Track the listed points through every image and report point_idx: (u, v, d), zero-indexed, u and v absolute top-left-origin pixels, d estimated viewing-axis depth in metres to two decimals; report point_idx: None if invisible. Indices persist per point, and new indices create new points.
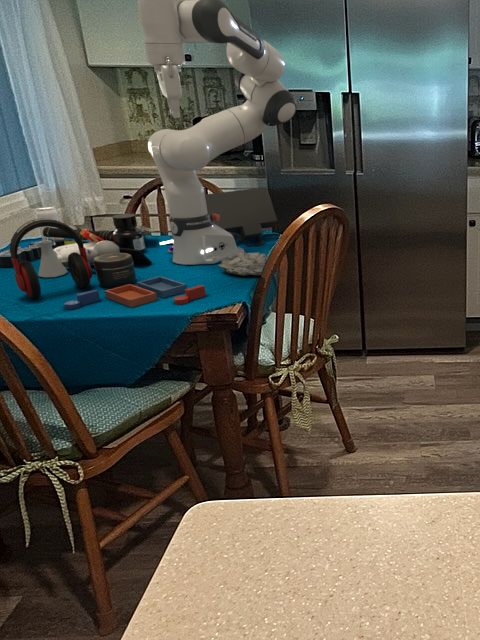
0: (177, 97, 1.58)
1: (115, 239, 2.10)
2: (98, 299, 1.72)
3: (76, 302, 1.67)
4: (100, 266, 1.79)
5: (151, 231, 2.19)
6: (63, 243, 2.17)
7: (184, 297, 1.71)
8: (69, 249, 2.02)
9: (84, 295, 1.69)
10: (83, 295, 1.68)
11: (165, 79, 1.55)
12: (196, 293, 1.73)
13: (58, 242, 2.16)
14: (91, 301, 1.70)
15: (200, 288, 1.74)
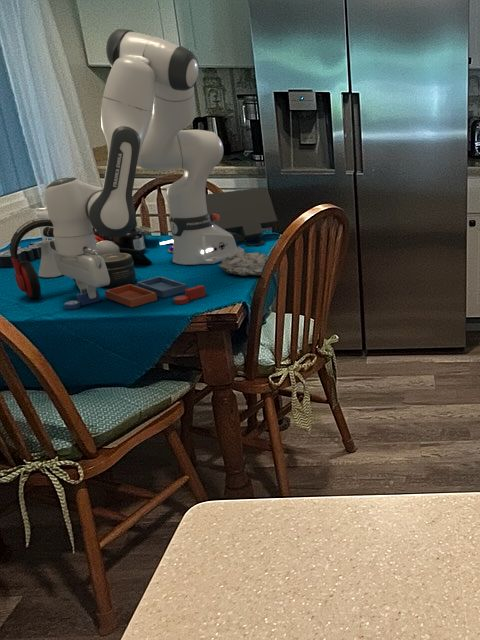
0: (106, 284, 1.64)
1: (115, 239, 2.10)
2: (98, 299, 1.72)
3: (76, 302, 1.67)
4: None
5: (151, 231, 2.19)
6: None
7: (184, 297, 1.71)
8: None
9: (84, 295, 1.69)
10: (83, 295, 1.68)
11: (94, 271, 1.60)
12: (196, 293, 1.73)
13: None
14: (91, 301, 1.70)
15: (200, 288, 1.74)
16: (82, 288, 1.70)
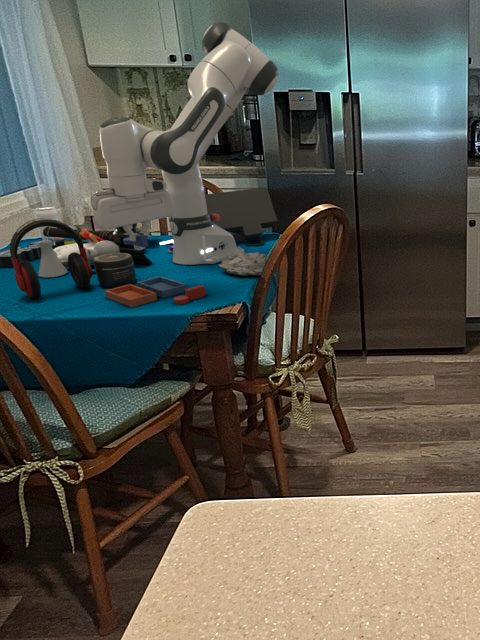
0: (102, 228, 1.62)
1: (115, 239, 2.10)
2: (141, 245, 1.70)
3: (129, 239, 1.73)
4: (100, 266, 1.79)
5: (151, 231, 2.18)
6: (63, 243, 2.17)
7: (184, 297, 1.71)
8: (69, 249, 2.02)
9: None
10: None
11: (93, 211, 1.61)
12: (196, 293, 1.73)
13: (58, 242, 2.16)
14: (137, 244, 1.71)
15: (200, 288, 1.74)
16: (143, 230, 1.72)
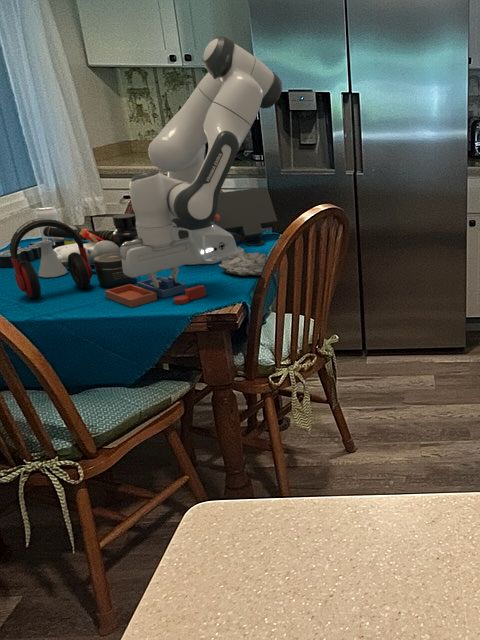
0: (129, 276, 1.69)
1: (115, 239, 2.10)
2: None
3: None
4: (100, 266, 1.79)
5: None
6: (63, 243, 2.17)
7: (184, 297, 1.71)
8: (69, 249, 2.02)
9: None
10: (159, 280, 1.78)
11: None
12: (196, 293, 1.73)
13: (58, 242, 2.16)
14: (164, 289, 1.78)
15: (200, 288, 1.74)
16: (171, 275, 1.79)
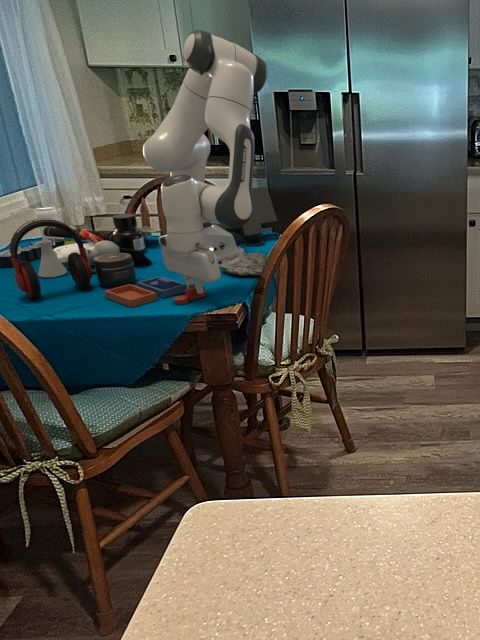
0: (217, 280, 1.67)
1: (115, 239, 2.10)
2: None
3: (156, 283, 1.80)
4: (100, 266, 1.79)
5: None
6: (63, 243, 2.17)
7: (184, 297, 1.71)
8: (69, 249, 2.02)
9: (160, 281, 1.78)
10: (159, 280, 1.78)
11: (208, 266, 1.64)
12: (196, 293, 1.73)
13: (58, 242, 2.16)
14: (164, 289, 1.78)
15: None
16: (189, 283, 1.74)
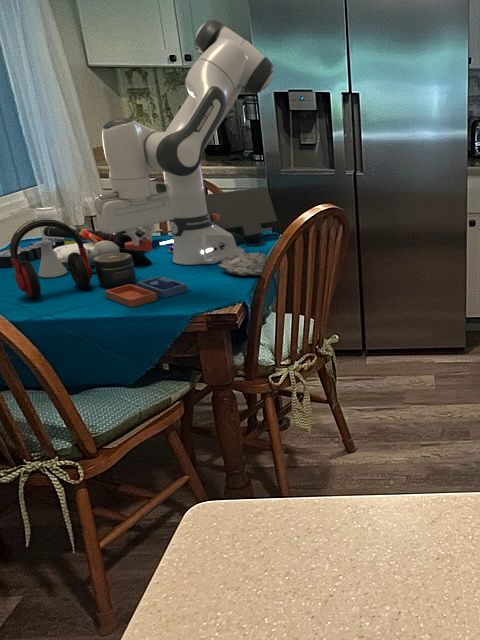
0: (106, 233, 1.57)
1: (115, 239, 2.10)
2: None
3: (156, 283, 1.80)
4: (100, 266, 1.79)
5: None
6: (63, 243, 2.17)
7: (131, 243, 1.68)
8: (69, 249, 2.02)
9: (160, 281, 1.78)
10: (159, 280, 1.78)
11: None
12: None
13: (58, 242, 2.16)
14: (164, 289, 1.78)
15: (142, 241, 1.65)
16: (146, 234, 1.68)
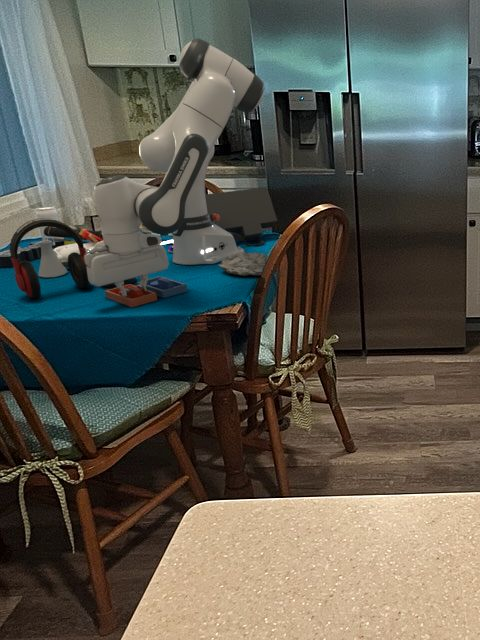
0: (95, 285, 1.62)
1: None
2: None
3: (156, 283, 1.80)
4: None
5: (150, 232, 2.17)
6: (63, 243, 2.17)
7: None
8: (69, 249, 2.02)
9: (160, 281, 1.78)
10: (159, 280, 1.78)
11: None
12: (131, 293, 1.71)
13: (58, 242, 2.16)
14: (164, 289, 1.78)
15: (133, 291, 1.70)
16: (140, 283, 1.73)
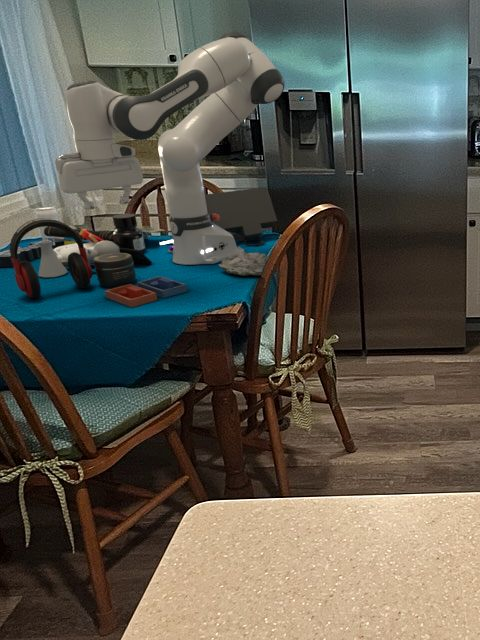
0: (67, 192, 1.61)
1: (115, 239, 2.10)
2: None
3: (156, 283, 1.80)
4: (100, 266, 1.79)
5: (150, 232, 2.17)
6: (63, 243, 2.17)
7: (125, 291, 1.74)
8: (69, 249, 2.02)
9: (160, 281, 1.78)
10: (159, 280, 1.78)
11: None
12: (131, 293, 1.71)
13: (58, 242, 2.16)
14: (164, 289, 1.78)
15: (133, 291, 1.70)
16: (123, 195, 1.73)
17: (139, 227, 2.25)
